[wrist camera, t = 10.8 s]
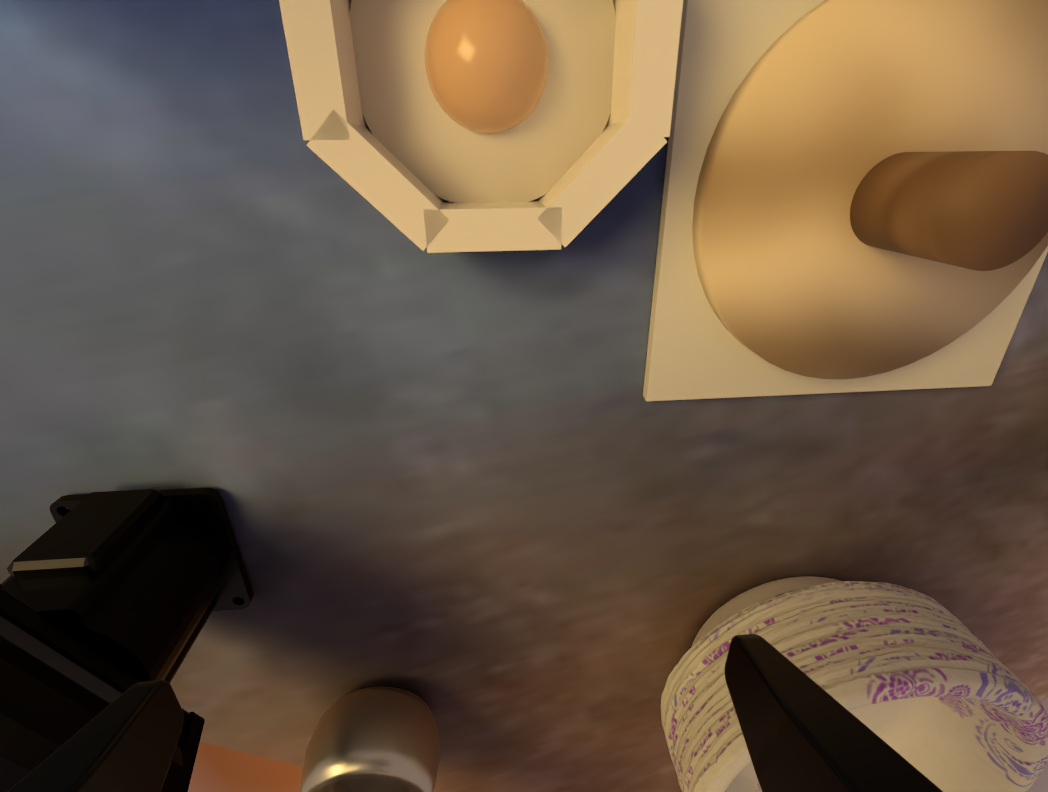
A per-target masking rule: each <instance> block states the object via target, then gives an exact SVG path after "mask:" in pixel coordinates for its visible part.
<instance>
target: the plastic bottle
mask: <svg viewBox="0 0 1048 792" xmlns="http://www.w3.org/2000/svg"><path fill="white" fill-rule="evenodd" d="M439 760H440V745H439V735H438V726H437V721H436V719H435V717H434V715H433V714H432V712H431V710H430V709H429V707H428V706H427V704H426V703H425V702H424V701H423V700H422V699H421V698H420V697H418V696H417V695H415V694H413V693H411V692H409V691H406V690H403V689H400V688H394V687H382V686H377V687H368V688H363V689H359V690H356V691H353V692H351V693H348V694H347V695H345V696H343V697H342V698H340V699H339V700H338V701H337V702H336V703H335V704H334V705H333V706H331V707H330V708H329V709H328V710H327V711H326V712H325V713H324V715H323V716H322V717H321V719H320V720H319V723H318V725H317V727H316V729H315V731H314V734H313V736H312V738H311V740H310V742H309V745H308V747H307V750H306V753H305V759H304V765H303V771H302V777H301V785H300V792H434V788H435V783H436V777H437V772H438V766H439Z"/></svg>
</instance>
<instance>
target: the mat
mask: <svg viewBox="0 0 1048 792" xmlns="http://www.w3.org/2000/svg"><path fill="white" fill-rule="evenodd" d="M823 1H825V0H683V9H682V18H681V28H680V38H679V48H678V58H677V68H676V78H675V88H674V98H673V108H672V118H671V128H670V137H669V139H668V149H667V159H666V169H665V179H664V189H663V199H662V209H661V219H660V229H659V239H658V249H657V259H656V269H655V280H654V290H653V300H652V310H651V320H650V330H649V340H648V350H647V360H646V370H645V380H644V390H643V397H644V398H645V400H646V401H665V400H687V399H709V398H732V397H754V396H776V395H798V394H821V393H843V392H865V391H887V390H909V389H932V388H954V387H976V386H991V385H992V383H993V380H994V378H995V376H996V373H997V371H998V368H999V366H1000V364H1001V361H1002V359H1003V357H1004V354H1005V352H1006V350H1007V347H1008V345H1009V342H1010V340H1011V338H1012V335H1013V333H1014V331H1015V328H1016V326H1017V323H1018V321H1019V319H1020V316H1021V314H1022V312H1023V309H1024V307H1025V304H1026V302H1027V300H1028V297H1029V295H1030V293H1031V290H1032V288H1033V286H1034V283H1035V281H1036V278H1037V276H1038V274H1039V271H1040V269H1041V267H1042V264H1043V262H1044V259H1045V257H1046V255H1047V252H1048V246H1047V248H1046V249H1045V251H1044V252H1043V254H1042V255H1041V256H1040V258H1039V259H1038V260H1037V262H1036V263H1035V265H1034V266H1033V267H1032V269H1031V270H1030V272H1029V273H1028V274H1027V275H1026V276H1025V277H1024V279H1023V280H1022V281H1021V282H1020V283H1019V284H1018V286H1017V287H1016V288H1015V289H1014V290H1013V291H1012V293H1011V294H1009V295H1008V296H1007V297H1006V298H1005V299H1004V300H1003V301H1002V302H1001V303H1000V304H999V305H998V306H997V307H996V308H995V309H994V310H993V311H992V312H991V313H990V314H989V315H987V316H986V317H985V318H984V319H983V320H981V321H980V322H979V323H978V324H977V325H975V326H974V327H973V328H972V329H970V330H969V331H968V332H966V333H965V334H963V335H962V336H960V337H959V338H957V339H956V340H955V341H953V342H952V343H950V344H948V345H947V346H945V347H943V348H941V349H940V350H938V351H936V352H934V353H933V354H931V355H929V356H927V357H925V358H922V359H920V360H918V361H916V362H914V363H911V364H909V365H907V366H904V367H901V368H898V369H895V370H892V371H889V372H886V373H881V374H877V375H872V376H868V377H862V378H853V379H820V378H813V377H807V376H802V375H799V374H795V373H792V372H789V371H786V370H783V369H781V368H779V367H777V366H775V365H773V364H771V363H769V362H767V361H766V360H764V359H763V358H761V357H760V356H758V355H757V354H756V353H754V352H753V351H751V350H750V349H748V348H747V347H746V346H744V345H743V344H741V343H740V342H739V341H738V340H737V339H736V338H735V337H734V336H733V335H732V334H731V333H730V332H729V331H728V330H727V329H726V328H725V327H724V325H723V324H722V323H721V321H720V320H719V319H718V317H717V316H716V315H715V313H714V311H713V309H712V308H711V306H710V304H709V302H708V300H707V298H706V296H705V294H704V291H703V288H702V285H701V282H700V279H699V276H698V272H697V267H696V262H695V257H694V249H693V232H692V225H693V210H694V200H695V194H696V189H697V183H698V178H699V174H700V171H701V167H702V164H703V161H704V157H705V154H706V151H707V148H708V145H709V143H710V141H711V138H712V136H713V133H714V131H715V129H716V126H717V124H718V122H719V120H720V118H721V116H722V114H723V112H724V111H725V109H726V107H727V105H728V103H729V102H730V100H731V98H732V96H733V94H734V93H735V91H736V90H737V88H738V87H739V86H740V84H741V83H742V81H743V80H744V78H745V77H746V76H747V74H748V73H749V71H750V70H751V68H752V67H753V66H754V65H755V63H756V62H757V61H758V60H759V59H760V58H761V57H762V55H763V54H764V53H765V52H766V51H767V50H768V49H769V47H770V46H771V45H772V44H773V43H774V42H775V41H776V40H777V39H778V38H779V37H780V36H781V35H782V34H783V33H784V32H786V31H787V30H788V29H789V28H790V27H791V26H792V25H793V24H794V23H795V22H796V21H797V20H799V19H800V18H801V17H803V16H804V15H806V14H807V13H808V12H810V11H811V10H812V9H814V8H815V7H816V6H818V5H819V4H821V3H822V2H823Z"/></svg>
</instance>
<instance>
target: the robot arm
mask: <svg viewBox="0 0 1048 792" xmlns="http://www.w3.org/2000/svg"><path fill="white" fill-rule="evenodd" d="M204 499H207V500H209V501H210V502H211V503H209V502H206V501H205V500H204ZM67 508H68V509H67ZM50 512H51V514H52V516H53V518H54V520H55V522H56V524H55V525H53V526H52V527H51V528H50V529H49V530H48V531H47V532H45V533H44V534H43V535H42V536H41V537H40V538H38V539H37V540H36V541H35V542H34V543H33V544H32V545H30V546H29V547H28V548H27V549H26V550H25V551H23V552H22V553H21V554H20V555H19V556H18V557H16V558H15V559H14V560H13V561H12V563H11V564H10V565H9V567H8V568H7V569H8V571H9V573H10V575H11V576H10V577H8V578H7V579H6V580H5V581H4V582H3V583H2V584H0V792H188V787H189V783H190V779H191V774H192V771H193V766H194V763H195V758H196V754H197V750H198V746H199V742H200V738H201V734H202V729H203V725H204V719H203V718H202V717H200V716H199V715H197V714H196V713H194V712H190V713H188V712H187V711H185V710H184V709H182V708H181V706H180V704H179V702H178V700H177V698H176V695H175V693H174V691H173V689H172V687H171V685H170V682H171V680H172V679H173V677H174V675H175V673H176V672H177V670H178V668H179V667H180V665H181V663H182V662H183V660H184V658H185V657H186V655H187V653H188V651H189V650H190V648H191V646H192V645H193V643H194V641H195V640H196V638H197V636H198V634H199V633H200V631H201V629H202V628H203V626H204V624H205V623H206V621H207V619H208V617H209V616H210V614H211V612H212V611H218V610H233V609H243V608H246V607H248V606H249V604H250V602H251V600H252V598H253V591H252V588H251V585H250V582H249V579H248V576H247V573H246V570H245V567H244V564H243V561H242V557H241V554H240V551H239V548H238V545H237V542H236V539H235V536H234V533H233V530H232V527H231V524H230V521H229V518H228V514H227V511H226V508H225V505H224V502H223V499H222V496H221V495H220V493H219V492H217V491H216V490H214V489H211V488H195V489H177V490H154V489H149V490H130V491H112V492H94V493H91V494H83V495H66V496H61V497H60V498H59V499H58V500H56V501H55V502H54V503H53V504H51V506H50ZM240 597H241V598H240ZM724 673H725V680H726V684H727V687H728V690H729V693H730V696H731V699H732V702H733V705H734V708H735V712H736V715H737V718H738V721H739V724H740V727H741V730H742V733H743V736H744V739H745V742H746V745H747V748H748V752H749V755H750V758H751V761H752V764H753V767H754V770H755V773H756V776H757V779H758V781H759V784H760V787H761V789H762V792H943V791H942V790H941V789H940V788H938V787H937V786H936V785H935V784H934V783H933V782H931V781H930V780H929V779H928V778H927V777H926V776H924V775H923V774H922V773H921V772H920V771H918V770H917V769H916V768H915V767H914V766H913V765H911V764H910V763H909V762H908V761H907V760H906V759H904V758H903V757H902V756H901V755H900V754H899V753H897V752H896V751H895V750H894V749H893V748H892V747H890V746H889V745H888V744H887V743H886V742H884V741H883V740H882V739H881V738H880V737H879V736H877V735H876V734H875V733H874V732H873V731H872V730H870V729H869V728H868V727H867V726H866V725H865V724H863V723H862V722H861V721H860V720H859V719H858V718H856V717H855V716H854V715H853V714H852V713H851V712H849V711H848V710H847V709H846V708H845V707H843V706H842V705H841V704H840V703H839V702H838V701H836V700H835V699H834V698H833V697H832V696H831V695H829V694H828V693H827V692H826V691H825V690H824V689H822V688H821V687H820V686H819V685H818V684H817V683H815V682H814V681H813V680H812V679H811V678H810V677H808V676H807V675H806V674H805V673H804V672H802V671H801V670H800V669H799V668H798V667H797V666H795V665H794V664H793V663H792V662H791V661H790V660H788V659H787V658H786V657H785V656H784V655H783V654H781V653H780V652H779V651H778V650H777V649H776V648H774V647H773V646H772V645H771V644H770V643H768V642H767V641H766V640H765V639H764V638H762V637H761V636H759V635H757V634H744V635H735V636H734V637H733V638H732V639H731V642H730V646H729V651H728V655H727V659H726V663H725V672H724Z"/></svg>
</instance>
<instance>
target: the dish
mask: <svg viewBox="0 0 1048 792" xmlns="http://www.w3.org/2000/svg"><path fill="white" fill-rule="evenodd" d="M279 3H280V9H281V15H282V20H283V26H284V32H285V37H286V43H287V49H288V54H289V60H290V66H291V72H292V77H293V83H294V89H295V94H296V100H297V106H298V111H299V117H300V123H301V128H302V134H303V140H306V141H309V143H308V144H307V146H308V147H309V148H310V149H311V150H312V151H313V152H314V153H315V154H317V155H318V156H319V157H320V158H321V159H322V160H323V161H324V162H325V163H326V164H328V165H329V166H330V167H331V168H332V169H333V170H334V171H335V172H336V173H337V174H339V175H340V176H341V177H342V178H343V179H344V180H345V181H346V182H347V183H349V184H350V185H351V186H352V187H353V188H354V189H355V190H356V191H357V192H358V193H360V194H361V195H362V196H363V197H364V198H365V199H366V200H367V201H368V202H369V203H371V204H372V205H373V206H374V207H375V208H376V209H377V210H378V211H379V212H381V213H382V214H383V215H384V216H385V217H386V218H387V219H388V220H389V221H390V222H392V223H393V224H394V225H395V226H396V227H397V228H398V229H399V230H400V231H401V232H403V233H404V234H405V235H406V236H407V237H408V238H409V239H410V240H411V241H413V242H414V243H415V244H416V245H417V246H418V247H419V248H420V249H421V250H422V251H424V249H425V248H426V247H427V253H437V252H479V251H520V250H561V244H562V245H563V246H564V247H566V246H567V245H568V244H569V243H570V242H571V241H572V240H573V239H574V238H575V237H576V236H577V235H578V234H579V233H580V232H581V231H582V230H583V229H584V228H585V227H586V226H587V225H588V224H589V223H590V221H591V220H592V219H593V218H594V217H595V216H596V215H597V214H598V213H599V212H600V211H601V210H602V209H603V208H604V207H605V206H606V205H607V204H608V203H609V202H610V201H611V200H612V199H613V198H614V197H615V196H616V195H617V194H618V192H619V191H620V190H621V189H622V188H623V187H624V186H625V185H626V184H627V183H628V182H629V181H630V180H631V179H632V178H633V177H634V176H635V175H636V174H637V173H638V172H639V171H640V170H641V169H642V168H643V167H644V166H645V164H646V163H647V162H648V161H649V160H650V159H651V158H652V157H653V156H654V155H655V154H656V153H657V152H658V151H659V150H660V149H661V148H662V147H663V146H664V145H665V144H666V143H667V141H666V139H665V137H670V128H671V118H672V108H673V98H674V88H675V78H676V68H677V58H678V48H679V38H680V28H681V18H682V9H683V0H279ZM537 198H538V199H537ZM443 199H444V200H447V201H444V200H443ZM535 199H537V200H535Z"/></svg>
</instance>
